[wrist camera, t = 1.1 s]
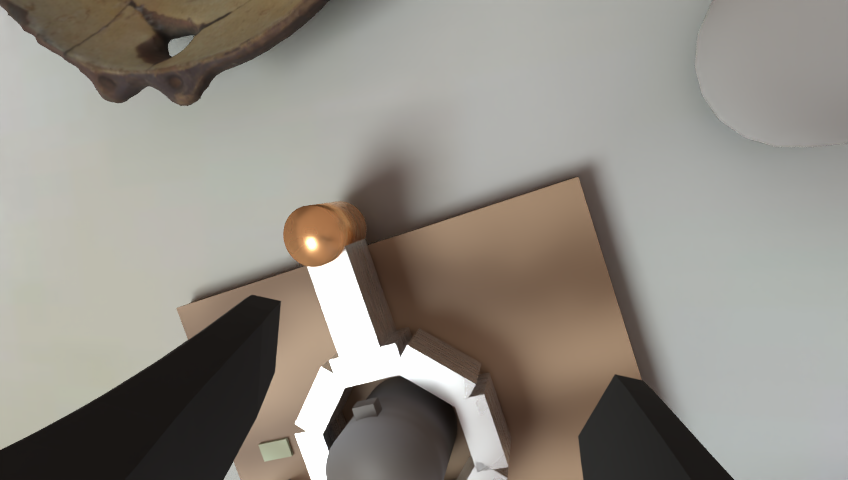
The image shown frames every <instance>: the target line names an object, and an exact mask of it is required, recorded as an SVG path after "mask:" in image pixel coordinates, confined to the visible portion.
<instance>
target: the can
mask: <svg viewBox="0 0 848 480" xmlns="http://www.w3.org/2000/svg"><path fill="white" fill-rule="evenodd" d="M695 69H696V73H697V77H698V81H699V85H700V89H701V93H702V96H703V97H704V99H705V100H706V102H707V103H708V105H709V106H710V107H711V109H712V110H713V112H714V113H715V115H716V116H717V117H718V119H719V120H720V121H722V122H723V123H724V124H726V125H727V126H729V127H730V128H732V129H733V130H734V131H736V132H737V133H739V134H740V135H742V136H743V137H744V138H747V139H751V140H754V141H758V142H761V143H764V144H768V145H771V146H774V147H817V146H827V145H837V144H847V143H848V0H713V1H712V3H711V4H710V7H709V9H708V11H707V14H706V16H705V18H704V21H703V23H702V25H701V28H700V30H699V32H698V36H697V46H696V57H695Z"/></svg>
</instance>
